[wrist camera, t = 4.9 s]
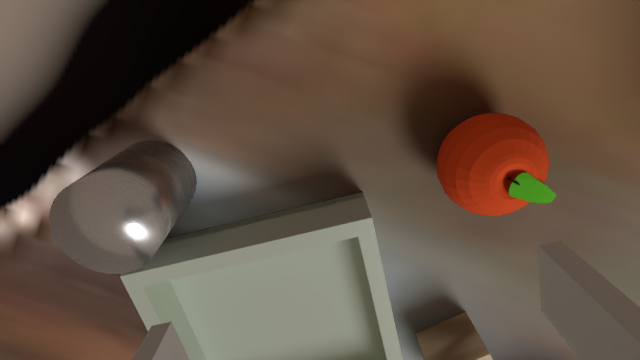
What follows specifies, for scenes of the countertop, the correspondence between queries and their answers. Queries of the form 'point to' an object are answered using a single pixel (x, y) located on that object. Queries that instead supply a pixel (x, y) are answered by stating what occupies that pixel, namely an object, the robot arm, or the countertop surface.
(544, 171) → the clementine
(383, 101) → the countertop surface
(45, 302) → the countertop surface
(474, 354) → the wood block
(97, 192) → the metal can
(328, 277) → the sage tray
